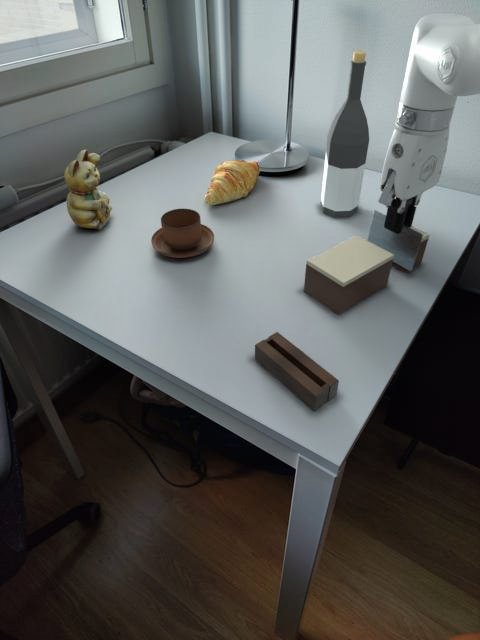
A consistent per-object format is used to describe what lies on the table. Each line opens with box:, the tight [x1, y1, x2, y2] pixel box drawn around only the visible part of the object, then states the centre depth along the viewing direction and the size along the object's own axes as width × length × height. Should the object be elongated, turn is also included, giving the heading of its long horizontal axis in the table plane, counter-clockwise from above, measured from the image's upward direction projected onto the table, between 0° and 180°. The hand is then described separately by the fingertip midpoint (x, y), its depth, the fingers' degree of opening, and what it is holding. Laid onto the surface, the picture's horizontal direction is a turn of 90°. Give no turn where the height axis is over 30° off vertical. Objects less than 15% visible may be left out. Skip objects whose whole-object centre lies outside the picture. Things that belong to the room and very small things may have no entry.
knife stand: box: [254, 331, 340, 412], centre depth 63 cm, size 12×4×3 cm, turn 38°
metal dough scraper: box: [367, 197, 423, 272], centre depth 80 cm, size 10×2×12 cm, turn 38°
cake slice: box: [392, 225, 430, 274], centre depth 83 cm, size 8×4×6 cm, turn 38°
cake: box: [303, 234, 394, 316], centre depth 77 cm, size 8×12×6 cm, turn 128°
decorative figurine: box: [63, 149, 113, 231], centre depth 92 cm, size 10×8×15 cm
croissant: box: [204, 159, 261, 206], centre depth 105 cm, size 21×10×8 cm, turn 148°
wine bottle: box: [320, 50, 370, 219], centre depth 90 cm, size 8×8×30 cm
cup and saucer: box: [150, 208, 215, 259], centre depth 88 cm, size 12×12×6 cm
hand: (397, 227), depth 79 cm, fingers closed on metal dough scraper, 2 cm apart
